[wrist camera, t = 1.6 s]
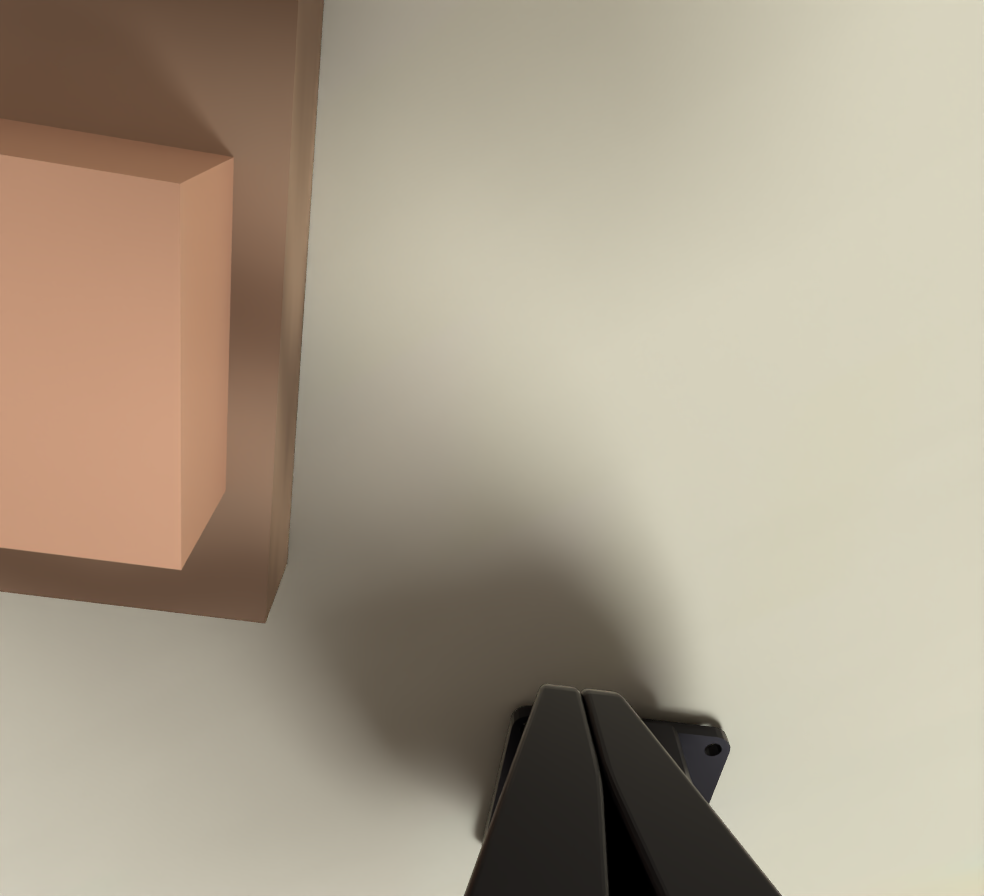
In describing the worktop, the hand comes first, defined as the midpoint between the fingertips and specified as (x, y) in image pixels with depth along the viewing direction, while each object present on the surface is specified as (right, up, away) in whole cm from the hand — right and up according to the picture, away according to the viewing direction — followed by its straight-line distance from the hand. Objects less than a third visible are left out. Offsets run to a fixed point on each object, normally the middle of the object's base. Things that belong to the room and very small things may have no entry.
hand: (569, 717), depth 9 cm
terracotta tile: (-10, +6, +8) cm, 14 cm away
